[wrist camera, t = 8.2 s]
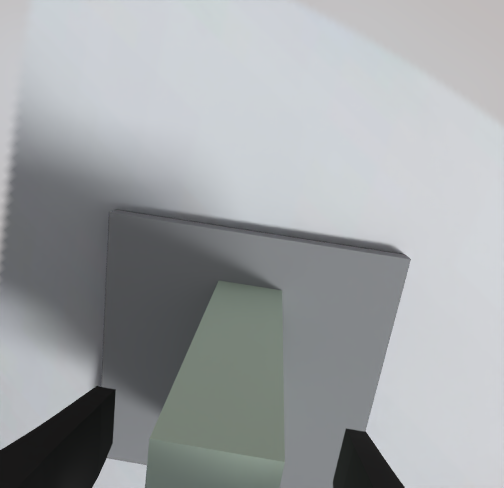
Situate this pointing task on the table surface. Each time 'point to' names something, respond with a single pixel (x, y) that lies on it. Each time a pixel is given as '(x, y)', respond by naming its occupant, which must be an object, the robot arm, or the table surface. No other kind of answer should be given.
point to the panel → (226, 398)
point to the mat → (294, 327)
